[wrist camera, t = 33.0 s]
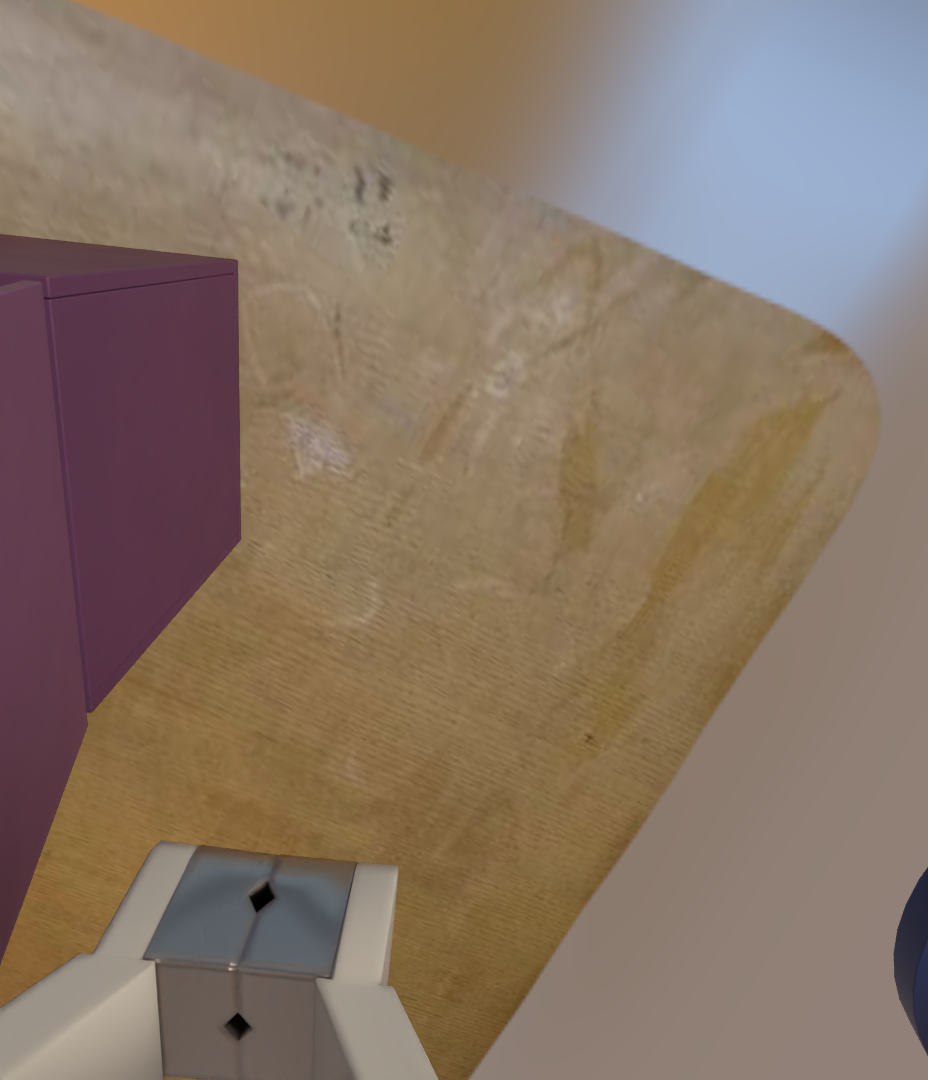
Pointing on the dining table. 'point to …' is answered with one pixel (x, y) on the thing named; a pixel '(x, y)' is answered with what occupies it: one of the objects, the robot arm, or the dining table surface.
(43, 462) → the flap
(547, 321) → the dining table surface
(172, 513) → the carton
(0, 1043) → the robot arm
